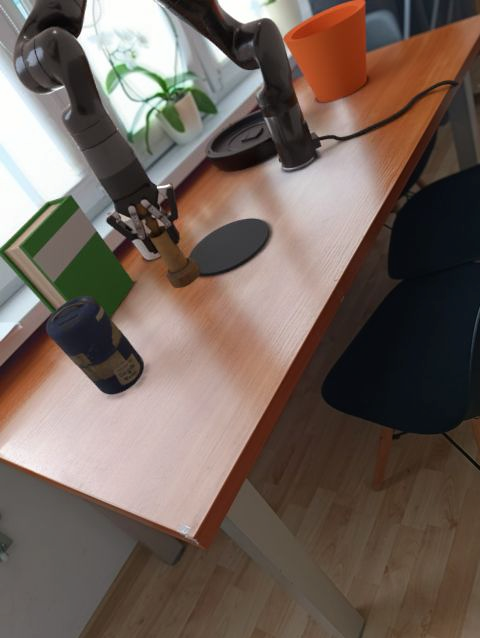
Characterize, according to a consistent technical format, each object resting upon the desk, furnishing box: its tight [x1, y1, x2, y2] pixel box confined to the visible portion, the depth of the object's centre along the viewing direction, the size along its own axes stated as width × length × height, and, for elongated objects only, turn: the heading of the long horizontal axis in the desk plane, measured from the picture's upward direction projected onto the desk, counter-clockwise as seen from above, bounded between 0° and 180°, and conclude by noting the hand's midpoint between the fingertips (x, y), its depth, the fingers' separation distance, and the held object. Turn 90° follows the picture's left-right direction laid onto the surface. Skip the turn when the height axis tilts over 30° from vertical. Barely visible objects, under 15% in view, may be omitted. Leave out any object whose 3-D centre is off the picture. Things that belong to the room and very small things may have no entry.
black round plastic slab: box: [204, 109, 278, 172], centre depth 146 cm, size 30×6×30 cm
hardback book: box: [0, 194, 135, 318], centre depth 105 cm, size 18×7×24 cm, turn 161°
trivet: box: [188, 217, 271, 277], centre depth 109 cm, size 20×20×1 cm
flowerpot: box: [282, 0, 368, 103], centre depth 148 cm, size 25×25×20 cm
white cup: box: [119, 214, 165, 261], centre depth 120 cm, size 10×10×12 cm
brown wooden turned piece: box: [136, 203, 201, 289], centre depth 91 cm, size 7×6×18 cm
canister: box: [45, 296, 145, 396], centre depth 84 cm, size 10×10×18 cm
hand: (166, 246), depth 92 cm, fingers closed on brown wooden turned piece, 4 cm apart
